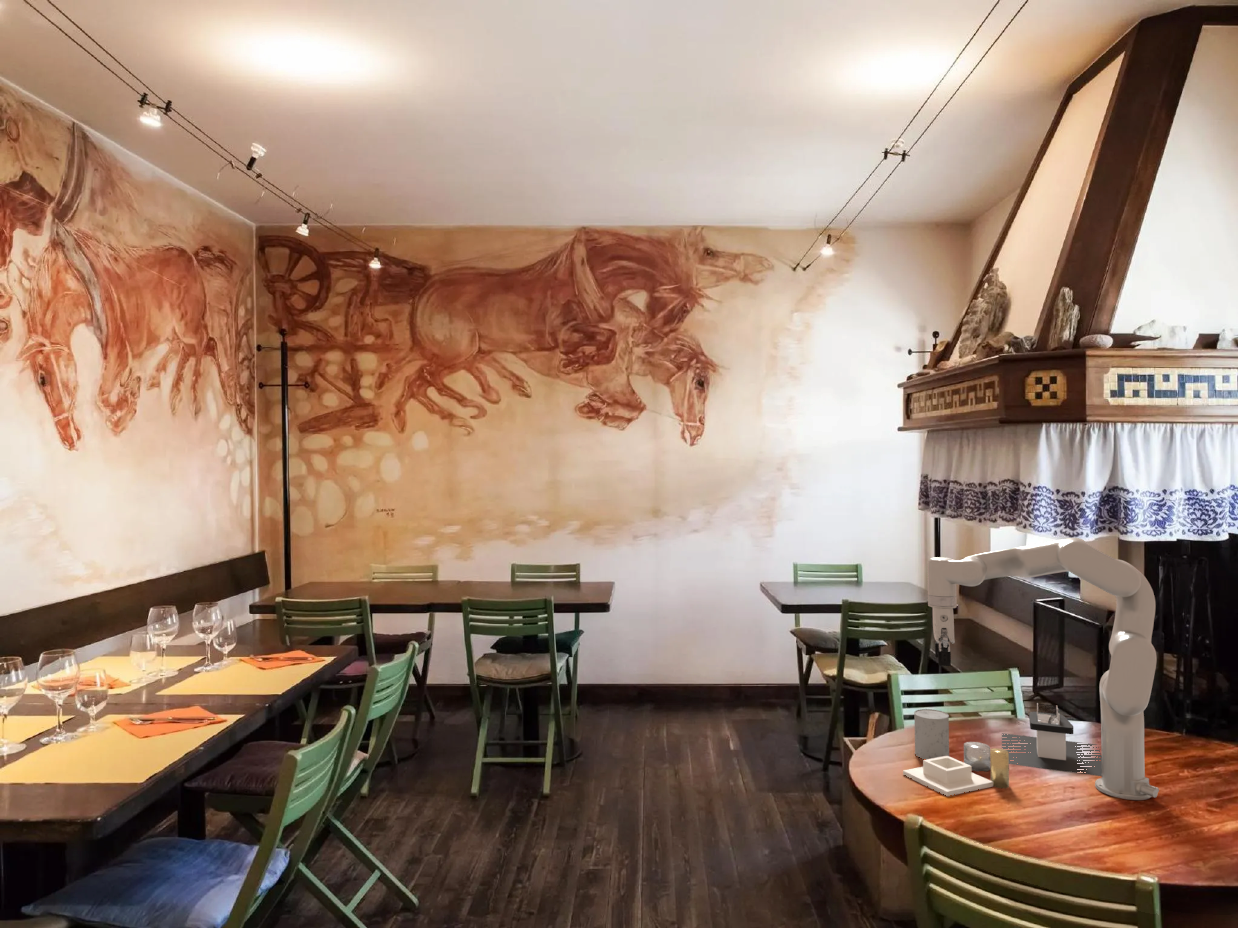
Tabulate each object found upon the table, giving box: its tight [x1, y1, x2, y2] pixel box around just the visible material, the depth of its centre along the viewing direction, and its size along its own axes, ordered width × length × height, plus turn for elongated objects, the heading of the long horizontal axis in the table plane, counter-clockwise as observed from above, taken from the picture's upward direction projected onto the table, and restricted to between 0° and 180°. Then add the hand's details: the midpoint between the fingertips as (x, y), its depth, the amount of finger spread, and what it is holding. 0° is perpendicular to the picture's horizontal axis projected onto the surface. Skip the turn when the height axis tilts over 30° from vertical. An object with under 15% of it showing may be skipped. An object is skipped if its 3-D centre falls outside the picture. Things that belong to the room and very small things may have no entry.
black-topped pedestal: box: [1001, 702, 1102, 777], centre depth 237 cm, size 28×26×13 cm
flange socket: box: [902, 755, 994, 797], centre depth 218 cm, size 16×16×5 cm
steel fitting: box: [963, 741, 991, 772], centre depth 228 cm, size 7×7×6 cm
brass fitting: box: [990, 747, 1010, 789], centre depth 215 cm, size 4×4×9 cm
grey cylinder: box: [913, 708, 950, 760], centre depth 237 cm, size 10×10×12 cm
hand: (942, 661), depth 229 cm, fingers open, 9 cm apart
